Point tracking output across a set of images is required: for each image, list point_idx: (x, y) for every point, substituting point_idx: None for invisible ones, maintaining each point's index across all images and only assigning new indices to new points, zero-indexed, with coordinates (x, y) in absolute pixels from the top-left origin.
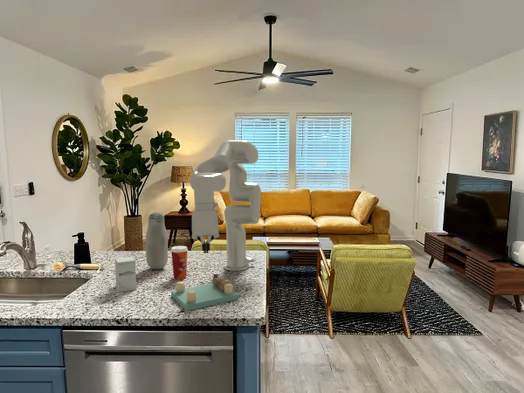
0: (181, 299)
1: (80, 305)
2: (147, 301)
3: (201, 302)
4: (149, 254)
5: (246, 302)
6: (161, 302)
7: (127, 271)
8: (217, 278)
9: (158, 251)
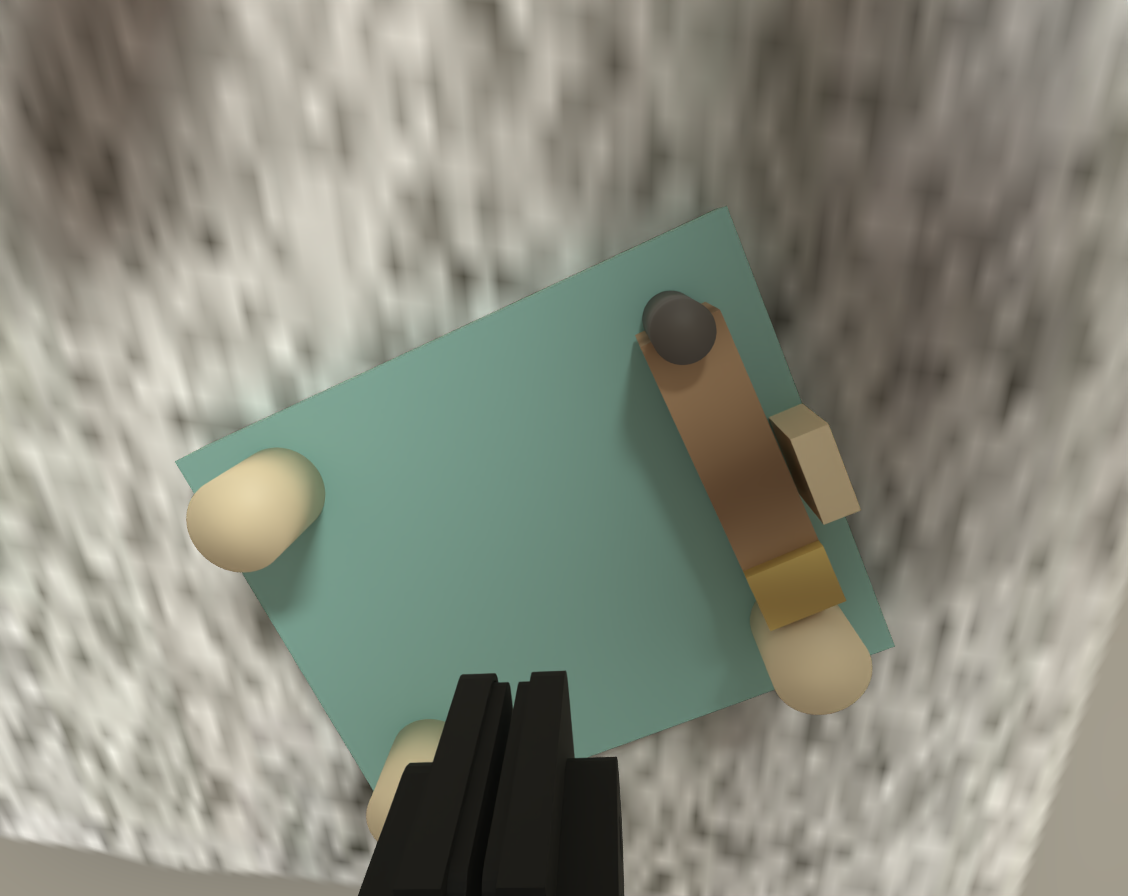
0: (331, 695)
1: None
2: (15, 551)
3: None
4: None
5: (935, 699)
6: (153, 592)
7: None
8: (702, 399)
9: None
